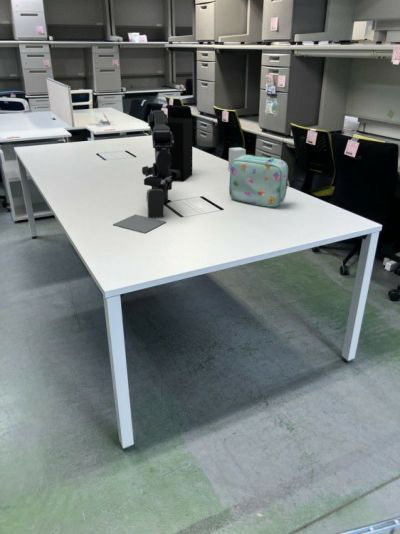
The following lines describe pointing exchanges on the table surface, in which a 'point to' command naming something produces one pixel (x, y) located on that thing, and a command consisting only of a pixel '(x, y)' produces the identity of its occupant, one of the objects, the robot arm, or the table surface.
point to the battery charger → (155, 203)
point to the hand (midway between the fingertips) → (163, 197)
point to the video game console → (181, 146)
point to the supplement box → (235, 154)
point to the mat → (140, 223)
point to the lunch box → (258, 180)
